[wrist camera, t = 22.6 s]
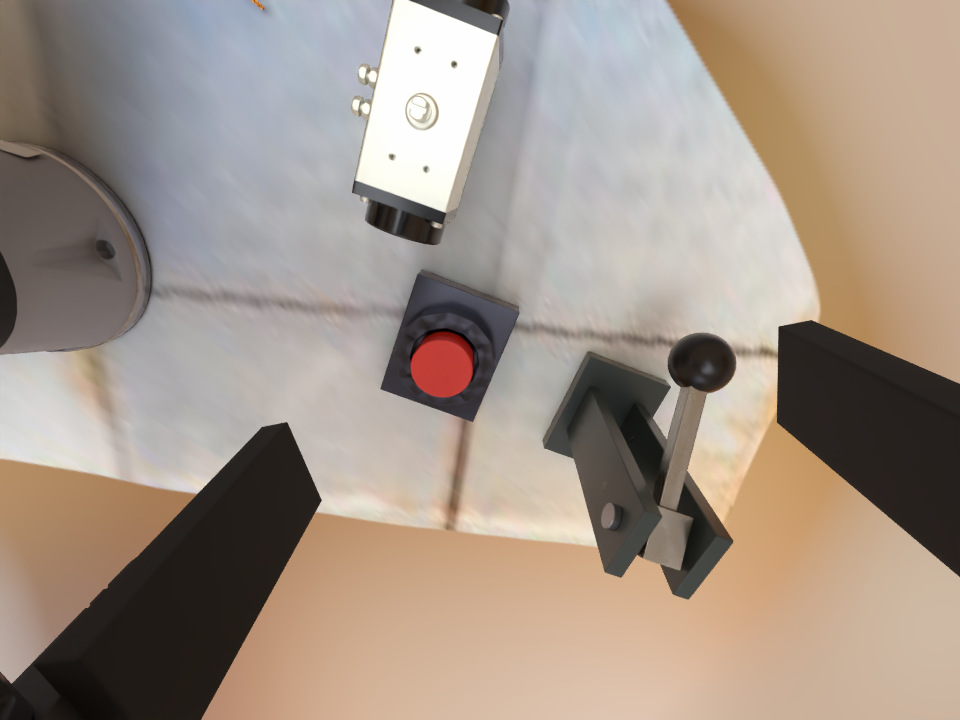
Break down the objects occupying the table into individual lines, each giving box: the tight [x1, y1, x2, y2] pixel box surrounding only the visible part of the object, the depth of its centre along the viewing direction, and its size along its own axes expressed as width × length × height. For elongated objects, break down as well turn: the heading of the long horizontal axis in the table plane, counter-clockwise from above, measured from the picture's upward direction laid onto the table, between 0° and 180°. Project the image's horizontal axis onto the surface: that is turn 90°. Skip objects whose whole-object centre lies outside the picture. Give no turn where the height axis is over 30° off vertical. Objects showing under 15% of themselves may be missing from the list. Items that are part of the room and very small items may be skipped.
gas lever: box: [637, 333, 736, 571], centre depth 25 cm, size 13×4×4 cm, turn 160°
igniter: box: [411, 331, 474, 397], centre depth 32 cm, size 4×4×2 cm
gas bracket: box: [543, 352, 733, 599], centre depth 30 cm, size 9×7×16 cm
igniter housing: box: [380, 270, 519, 422], centre depth 34 cm, size 10×8×4 cm
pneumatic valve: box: [352, 0, 510, 245], centre depth 25 cm, size 6×12×12 cm, turn 161°
